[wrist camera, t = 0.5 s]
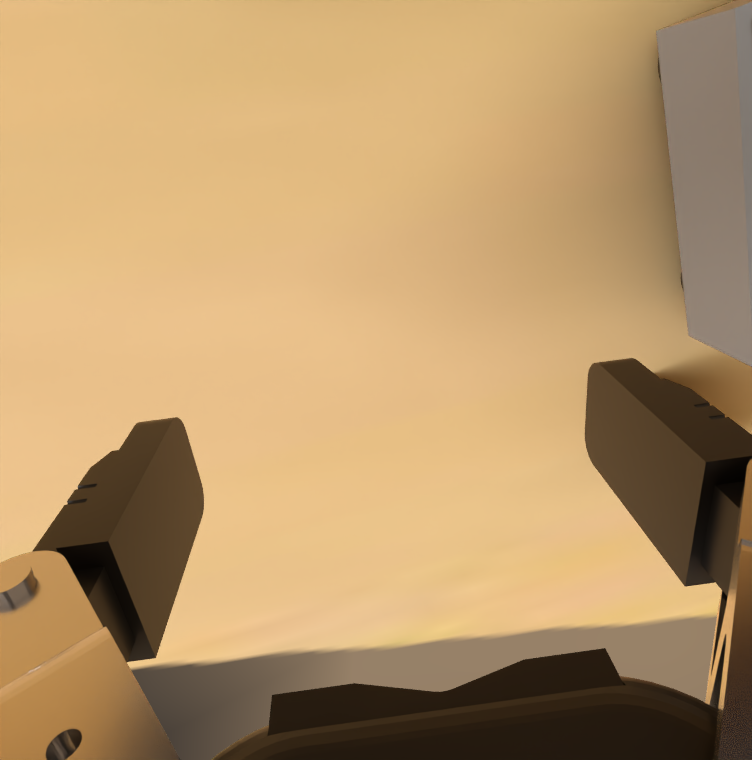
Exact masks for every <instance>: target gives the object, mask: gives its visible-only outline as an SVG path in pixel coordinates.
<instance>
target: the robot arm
mask: <svg viewBox="0 0 752 760" xmlns="http://www.w3.org/2000/svg"><path fill="white" fill-rule="evenodd" d="M724 415H725V414H723V413H722V412H721V411H719V410H718V409H717V408H715V407H714V406H710V405H709V402H707V401H706V400H705V399H703V398H702V397H701V396H699V395H698V394H697V393H695V392H694V391H693V390H691V389H689V388H687V387H684V386H682V385H679V384H677V383H674V382H672V381H669V380H667V379H660V378H659V377H658V376H656V375H655V374H654V373H653V372H651V371H650V370H649V369H647V368H646V367H645V366H644V365H642V364H641V363H640V362H639V361H637V360H636V359H634V358H629V359H622V360H614V361H606V362H599V363H594V364H592V365H591V367H590V369H589V373H588V385H587V403H586V421H585V442H586V448H587V451H588V455H589V457H590V460H591V462H592V463H593V465H594V466H595V468H596V469H597V470H598V472H599V473H600V474H601V476H602V477H603V478H604V479H605V481H606V482H607V483H608V485H609V486H610V487H611V489H612V490H613V491H614V493H615V494H616V495H617V497H618V498H619V499H620V501H621V502H622V503H623V505H624V506H625V507H626V509H627V510H628V511H629V513H630V514H631V515H632V517H633V518H634V519H635V521H636V522H637V523H638V525H639V526H640V527H641V529H642V530H643V531H644V533H645V534H646V535H647V537H648V538H649V539H650V541H651V542H652V543H653V544H654V546H655V547H656V548H657V550H658V551H659V552H660V554H661V555H662V556H663V558H664V559H665V560H666V562H667V563H668V564H669V566H670V567H671V568H672V570H673V571H674V572H675V574H676V575H677V576H678V578H679V579H680V580H681V582H682V583H683V584H684V586H692V585H700V584H707V583H714V582H716V583H717V585H718V586H719V587H720V588H721V589H722V592H721V596H720V601H719V606H718V613H717V621H716V628H715V635H714V642H713V650H712V656H711V664H710V670H709V677H708V685H707V692H706V698H705V702H703V701H701V700H699V699H697V698H695V697H692V696H690V695H687V694H685V693H682V692H680V691H678V690H675V689H672V688H669V687H666V686H663V685H659V684H656V683H653V682H649V681H644V680H639V679H635V678H629V677H622V676H619V674H618V673H617V670H616V669H615V666H614V665H613V663H612V661H611V659H610V657H609V655H608V653H607V651H606V649H605V648H604V649H597V650H590V651H583V652H575V653H568V654H561V655H554V656H547V657H540V658H533V659H525V660H522V661H520V662H517V663H515V664H512V665H510V666H507V667H505V668H503V669H500V670H498V671H495V672H493V673H490V674H488V675H486V676H483V677H481V678H478V679H476V680H473V681H471V682H468V683H466V684H464V685H461V686H459V687H456V688H454V689H451V690H448V691H443V692H431V691H421V690H412V689H403V688H393V687H383V686H374V685H364V684H355V683H354V684H347V685H340V686H333V687H326V688H319V689H311V690H304V691H298V692H290V693H283V694H276V695H272V702H271V711H270V720H269V725H268V726H266V727H263V728H261V729H258V730H256V731H254V732H253V733H251V734H249V735H247V736H245V737H243V738H241V739H240V740H238V741H236V742H235V743H233V744H232V745H230V746H229V747H227V748H226V749H224V750H223V751H222V752H220V753H219V754H217V755H216V756H215V757H214V758H212V759H211V760H752V435H751V434H750V433H749V432H747V431H746V430H745V429H743V428H742V427H741V426H739V425H738V424H737V423H735V422H734V421H733V420H731V419H730V418H729V417H728V418H725V416H724ZM67 502H68V504H67V505H64V507H63V508H62V510H61V511H60V512H59V514H58V515H57V517H56V518H55V520H54V521H53V522H52V524H51V525H50V527H49V528H48V530H47V531H46V533H45V534H44V535H43V537H42V538H41V540H40V541H39V543H38V544H37V546H36V547H35V548H34V550H33V551H32V552H29V553H25V554H21V555H19V556H16V557H13V558H10V559H8V560H6V561H4V562H1V563H0V760H180V758H179V757H178V755H177V753H176V751H175V749H174V747H173V746H172V744H171V742H170V740H169V739H168V737H167V735H166V733H165V731H164V729H163V728H162V726H161V724H160V722H159V720H158V718H157V717H156V715H155V713H154V711H153V709H152V708H151V706H150V704H149V702H148V700H147V699H146V697H145V695H144V693H143V691H142V690H141V688H140V686H139V684H138V682H137V681H136V679H135V677H134V675H133V673H132V672H131V670H130V668H129V666H128V664H127V662H130V661H137V660H144V659H152V658H156V656H157V652H158V649H159V646H160V643H161V640H162V637H163V634H164V631H165V628H166V625H167V622H168V619H169V616H170V613H171V610H172V607H173V604H174V601H175V598H176V595H177V592H178V589H179V585H180V582H181V579H182V576H183V573H184V570H185V567H186V564H187V561H188V558H189V555H190V552H191V549H192V546H193V543H194V540H195V537H196V534H197V531H198V528H199V525H200V522H201V518H202V515H203V509H204V495H203V488H202V483H201V480H200V477H199V473H198V470H197V466H196V463H195V460H194V456H193V453H192V450H191V446H190V443H189V440H188V436H187V433H186V430H185V427H184V424H183V423H182V421H181V420H180V419H179V418H177V417H176V418H168V419H161V420H153V421H146V422H139V423H137V424H136V425H135V426H134V428H133V429H132V431H131V432H130V434H129V435H128V437H127V439H126V440H125V442H124V443H123V445H122V446H121V448H120V449H119V450H116V451H111V452H110V453H109V454H108V455H106V456H105V457H104V458H103V459H101V460H100V461H99V462H97V463H96V464H95V465H94V466H92V467H91V468H90V469H89V471H88V472H87V474H86V475H85V476H84V478H83V479H82V481H81V482H80V484H79V485H78V489H77V490H75V491H74V492H73V494H72V495H71V497H70V498H69V499H68V501H67Z"/></svg>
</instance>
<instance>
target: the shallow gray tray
mask: <svg viewBox="0 0 752 760" xmlns="http://www.w3.org/2000/svg"><path fill="white" fill-rule="evenodd" d="M656 35H657V44H658V54H659V58H658V72H659V77H660V81H661V83H662V91H663V101H664V110H665V119H666V129H667V138H668V147H669V157H670V166H671V175H672V185H673V194H674V204H675V213H676V222H677V232H678V241H679V250H680V260H681V269H682V272H681V284H682V288H683V291H684V297H685V307H686V316H687V325H688V335H689V336H690V337H692V338H694V339H696V340H698V341H700V342H702V343H704V344H707V345H709V346H711V347H713V348H715V349H717V350H719V351H721V352H723V353H725V354H727V355H729V356H731V357H733V358H735V359H737V360H739V361H741V362H743V363H745V364H747V365H749V366H751V367H752V0H735V1H732V2H730V3H727V4H724V5H722V6H719V7H717V8H714V9H711V10H709V11H706V12H704V13H701V14H698V15H696V16H693V17H691V18H688V19H686V20H683V21H680V22H678V23H675V24H673V25H670V26H667V27H665V28H662V29H660V30H657V31H656Z"/></svg>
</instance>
